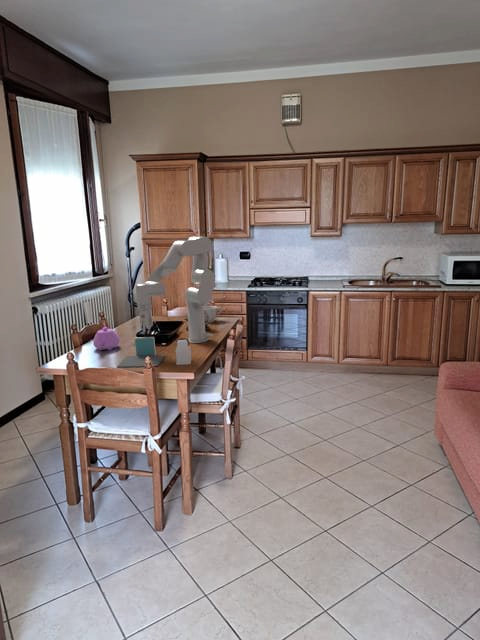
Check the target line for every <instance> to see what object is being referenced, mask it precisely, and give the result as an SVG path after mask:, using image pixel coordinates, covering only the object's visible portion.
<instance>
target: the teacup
mask: <svg viewBox="0 0 480 640" xmlns="http://www.w3.org/2000/svg"><path fill="white" fill-rule="evenodd" d="M203 308H204V310H205V311H206V313H207V314H208V315H209V319H208V323H213V322H214V320H215V319H216V317H217V316H218V315H220V314H221V313H222V311H223V309H222V307H220V306H217V305H203ZM219 310H220V311H219ZM217 311H219V312H217Z"/></svg>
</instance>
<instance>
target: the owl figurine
mask: <svg viewBox="0 0 480 640" xmlns="http://www.w3.org/2000/svg"><path fill="white" fill-rule="evenodd" d="M183 319H184V321H186V322H187V323H188V312H187V313H186V317H184V318H183ZM208 319H209V315H208V314H207V313H206V311H205V310H204V321H205V332H206V333H207V332H210V331H211V330H212V329H211V327H209V323H210V322H208ZM185 329H186V331H187V332H189V328H188V326H186V328H185Z"/></svg>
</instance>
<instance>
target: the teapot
mask: <svg viewBox="0 0 480 640" xmlns="http://www.w3.org/2000/svg"><path fill="white" fill-rule="evenodd" d="M119 344H120V338H119V335H118V334H117V332H116V331H115V329H113V328H108V327H107V326H105V327H102V329H100V330H98V331H97V332H96V333H95V335H94V339H93V347H95V348H96V349H97V350H98V351H99V352H101V351H103V350H107V351H109V352H111V351H113V349H114V348H117V347H118V346H119Z"/></svg>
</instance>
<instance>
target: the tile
mask: <svg viewBox="0 0 480 640" xmlns="http://www.w3.org/2000/svg"><path fill="white" fill-rule="evenodd" d="M134 344H135V354H136V355H135V356H140V355H157V353H156V352H157V351H156V343H155V336H150V337H144V336H143V337H142V336H141V337H140V336H139V337H137V336H136V337H134Z"/></svg>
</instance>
